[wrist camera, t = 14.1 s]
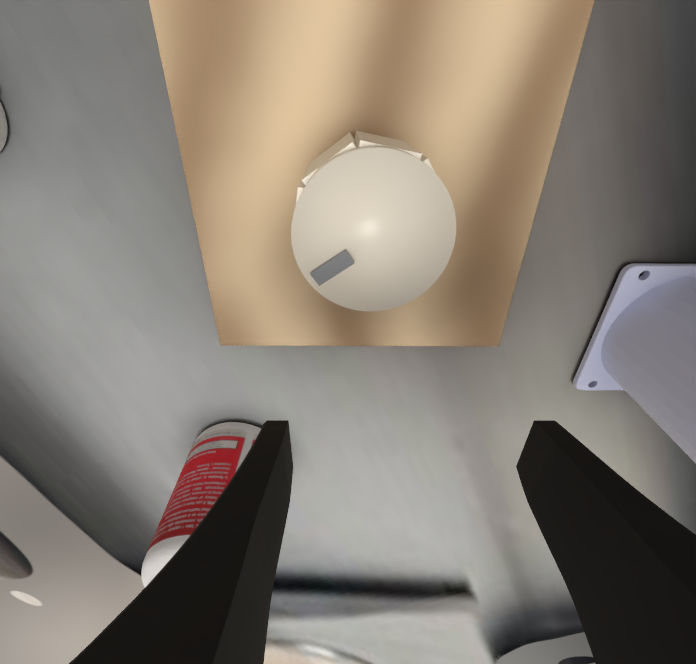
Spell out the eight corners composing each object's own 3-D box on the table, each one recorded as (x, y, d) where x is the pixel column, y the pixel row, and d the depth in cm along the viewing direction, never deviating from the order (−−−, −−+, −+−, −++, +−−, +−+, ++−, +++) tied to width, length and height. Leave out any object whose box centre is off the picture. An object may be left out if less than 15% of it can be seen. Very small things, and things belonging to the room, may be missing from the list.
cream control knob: (386, 104, 14) (406, 105, 10) (446, 218, 16) (485, 262, 12) (279, 185, 16) (254, 219, 11) (349, 279, 18) (351, 339, 13)
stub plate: (586, -25, 13) (604, -34, 12) (492, 336, 21) (498, 346, 20) (153, -34, 13) (139, -44, 12) (225, 335, 21) (220, 345, 20)
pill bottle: (185, 462, 26) (97, 663, 17) (209, 406, 23) (120, 609, 14) (267, 486, 28) (229, 682, 19) (299, 436, 25) (273, 637, 16)
